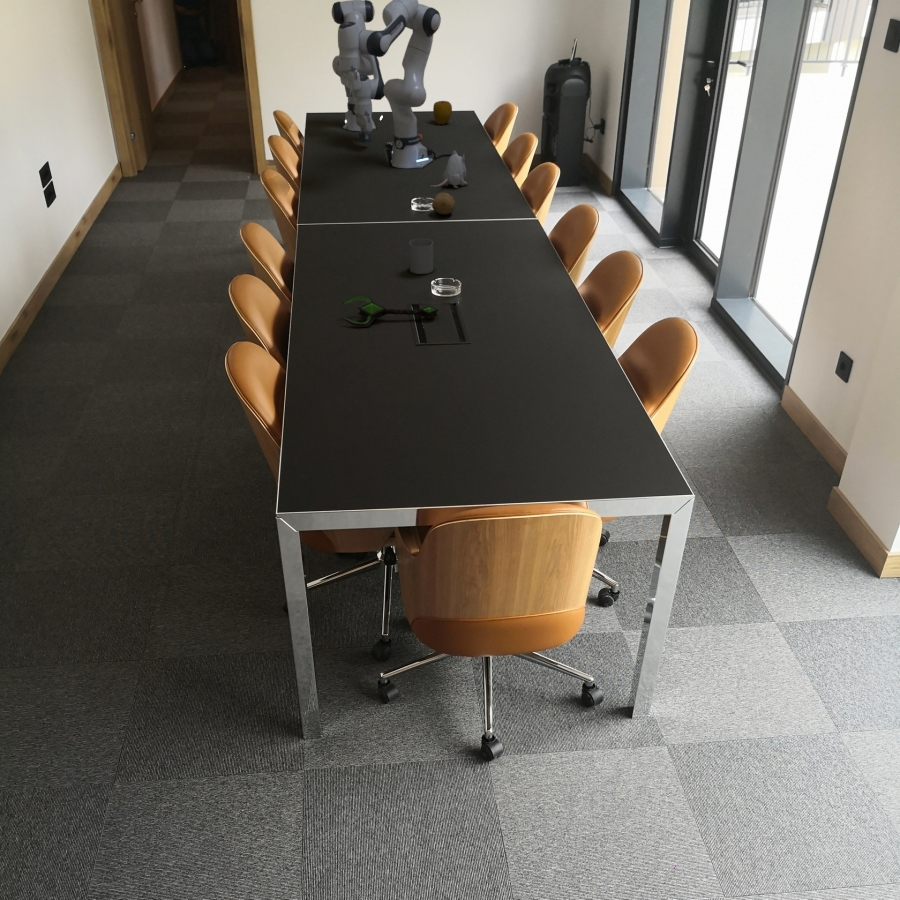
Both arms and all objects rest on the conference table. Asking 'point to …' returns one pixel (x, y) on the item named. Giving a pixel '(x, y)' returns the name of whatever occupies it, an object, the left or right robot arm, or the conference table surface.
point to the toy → (454, 171)
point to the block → (362, 138)
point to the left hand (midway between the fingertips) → (365, 137)
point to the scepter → (384, 311)
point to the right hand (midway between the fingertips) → (351, 99)
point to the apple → (442, 112)
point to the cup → (421, 256)
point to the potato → (443, 203)
